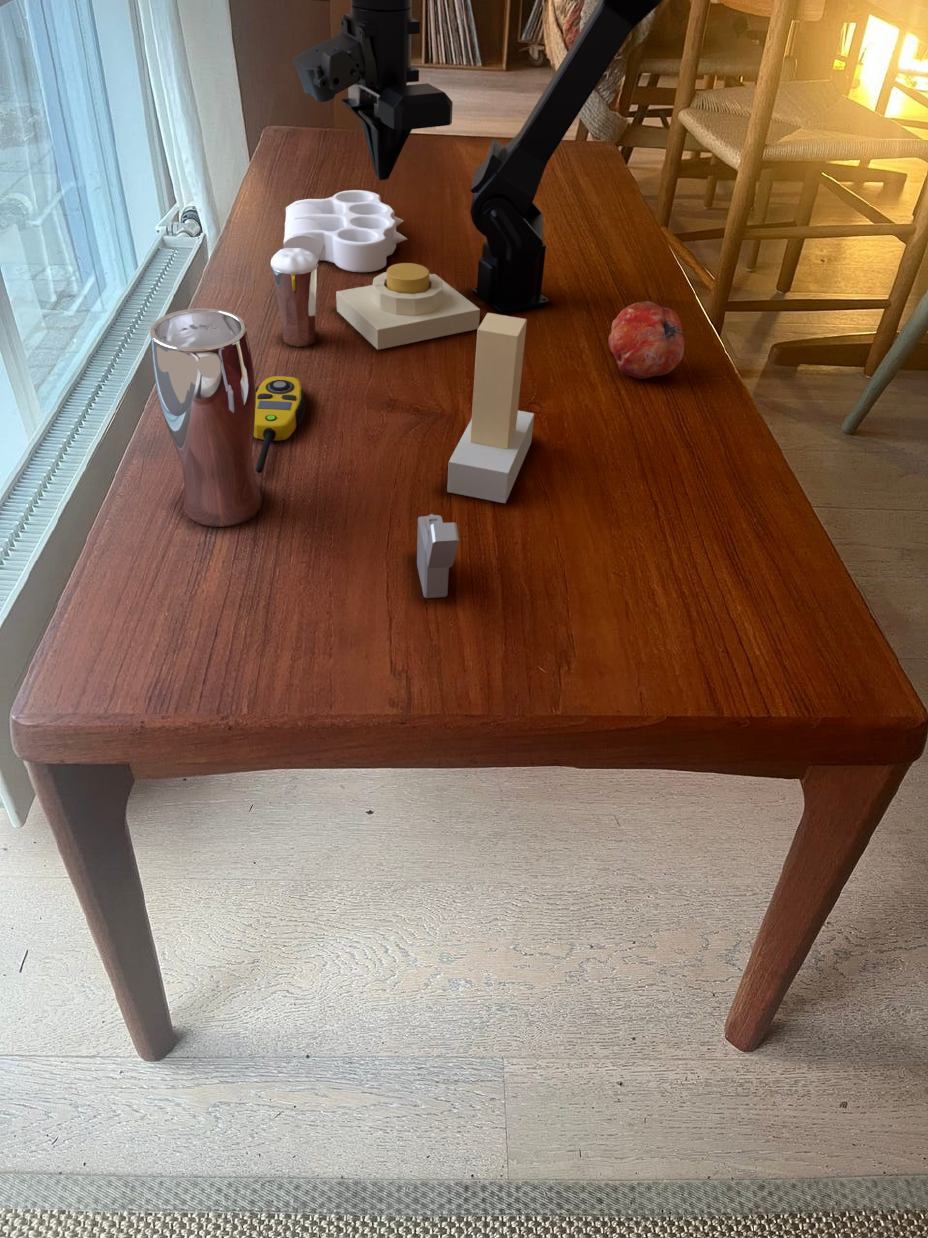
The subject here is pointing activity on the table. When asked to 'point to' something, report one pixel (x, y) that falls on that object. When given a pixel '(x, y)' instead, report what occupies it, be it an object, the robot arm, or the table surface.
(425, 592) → the lighter
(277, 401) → the remote control
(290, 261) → the milkshake
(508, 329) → the stamp
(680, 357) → the pomegranate
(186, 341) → the beer glass
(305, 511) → the table surface
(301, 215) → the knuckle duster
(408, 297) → the bell stand
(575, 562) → the table surface
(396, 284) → the bell button
